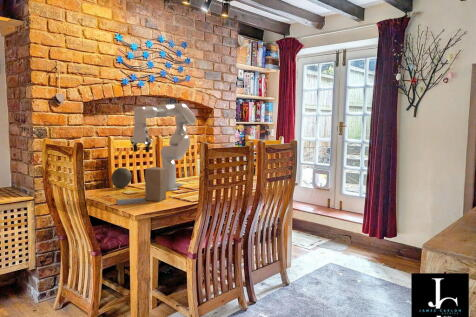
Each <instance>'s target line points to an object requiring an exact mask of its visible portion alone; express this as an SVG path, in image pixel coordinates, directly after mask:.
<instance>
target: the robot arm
mask: <svg viewBox="0 0 476 317" xmlns="http://www.w3.org/2000/svg"><path fill="white" fill-rule="evenodd" d="M174 116H175V117H174ZM155 117H157V118H163V117H164V118H167V117H174V121H175V126H176V128H175V131H174V132H173V134H172V135H171V137H170V139H169V142H168V143H169V144H168V145H165V146H163V147H162V148H161V149H160V156H161V163H162V165H161V166H162V167H161V168H166V192H169V191H170V192H171V191H177V190H179V187H183V183H182V182H181V183H177V165H176V162H175V161H180V160H181V159H182V158H183V157H184V156H185V155H186V153H187V151H188V150H189V147H190V144H191V139H190V137H189V136H188V135H187V134H188V132H187V127H186V126H189V125H191V126H192V125H194V124H196V120H197V119H196V115H195V113H194V112H193V111H192V110H191V109H190V108H189V107H188V105H186V104H185V103H168V104H167V103H166V104H157V105H149V106H148V105H147V106H136V107H134V108H133V121H134V122H133V124H134V126H133V133H132V134H133V135H132V137H131V138H130V139H129V141H130V144H131V145H132V146H133V152H134V153H135V152H136V153H137V152H138V144H144V146H145V153H150V146H151V144H152V142H153V138H150V132H149V129H148V124H147V119H154V118H155Z"/></svg>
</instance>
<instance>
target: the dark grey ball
mask: <svg viewBox="0 0 476 317" xmlns="http://www.w3.org/2000/svg"><path fill="white" fill-rule="evenodd" d="M132 175H133V174H132V172H131V171H130V170H129V169H128V168H127V167H126V168H125V167H118V168H116V169H114V170H113V172H112V173H111V178H110V180H111V183H112V185H113V186H114V187H116V188H117V189H123V188H126V187H127V186H128V185H129V184H130V183H131V181H132Z"/></svg>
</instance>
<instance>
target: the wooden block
mask: <svg viewBox="0 0 476 317" xmlns="http://www.w3.org/2000/svg"><path fill="white" fill-rule="evenodd" d="M144 173H145V175H144V176H145V177H144V178H145V179H144V180H145V183H144V184H145V186H144V190H145V193H144V196H145V197H144V199H145V200H146V201H147V202H148V201H149V202H161V201H163V200H165V199H167V191H166V168H162V167H161V166H160V167H158V166H155V167H154V166H151V167H148V168H145V172H144Z"/></svg>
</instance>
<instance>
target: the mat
mask: <svg viewBox="0 0 476 317" xmlns="http://www.w3.org/2000/svg"><path fill="white" fill-rule="evenodd" d="M115 201H116V204H117V206H125V205H135V204H137V205H139V204H147V203H148V201H147V200H145V197H139V198H137V197H136V198H135V197H134V198H123V199H122V198H121V199H116V200H115Z"/></svg>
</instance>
